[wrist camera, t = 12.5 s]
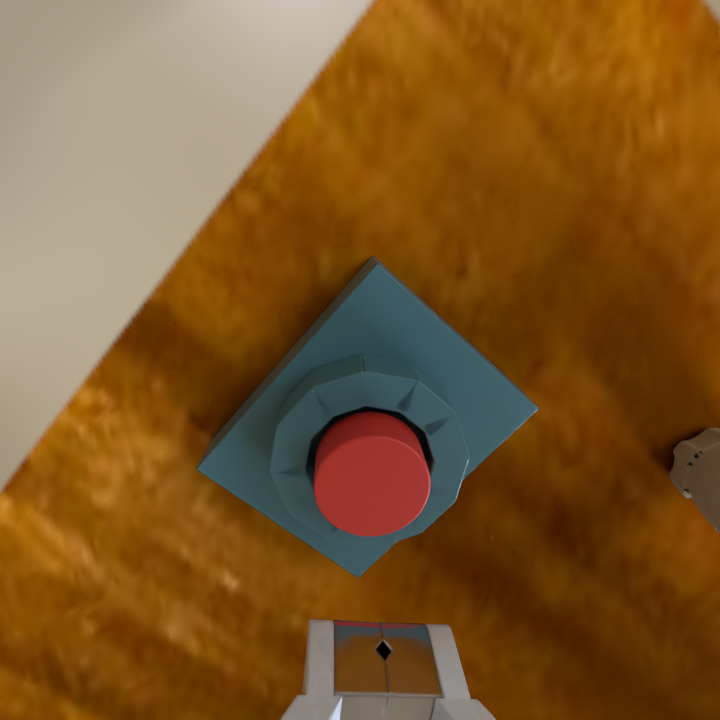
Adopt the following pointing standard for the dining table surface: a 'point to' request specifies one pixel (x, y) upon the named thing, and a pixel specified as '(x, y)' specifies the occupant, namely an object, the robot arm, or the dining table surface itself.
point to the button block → (365, 410)
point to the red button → (370, 475)
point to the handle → (700, 473)
